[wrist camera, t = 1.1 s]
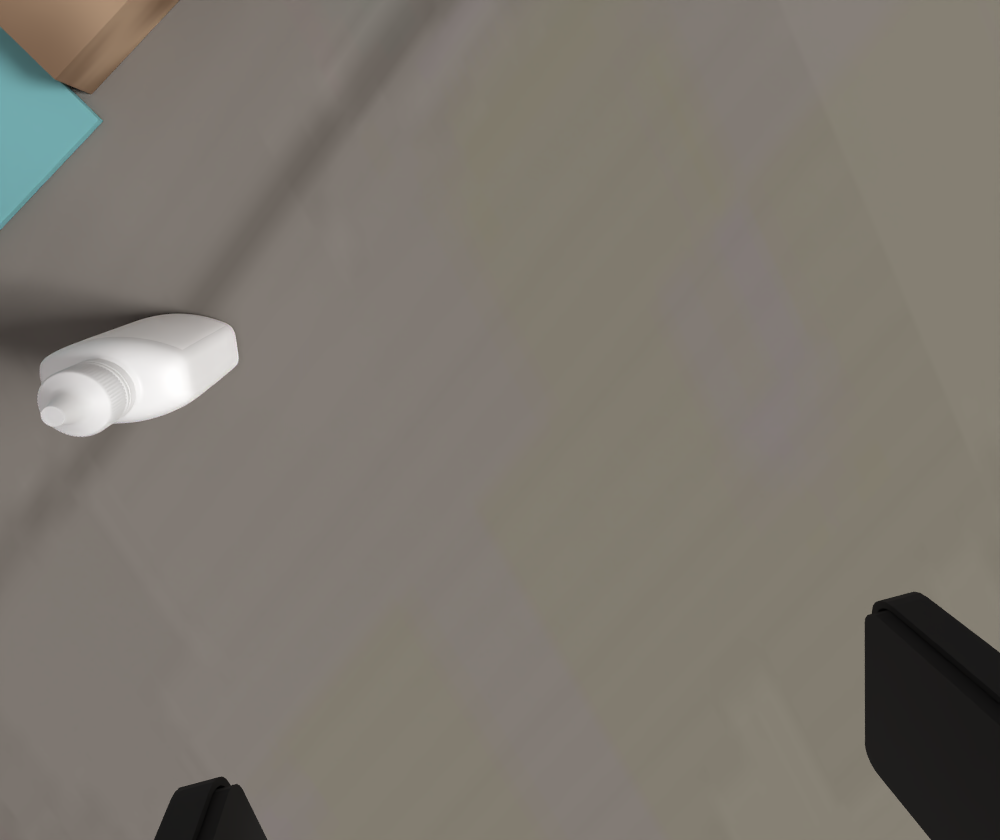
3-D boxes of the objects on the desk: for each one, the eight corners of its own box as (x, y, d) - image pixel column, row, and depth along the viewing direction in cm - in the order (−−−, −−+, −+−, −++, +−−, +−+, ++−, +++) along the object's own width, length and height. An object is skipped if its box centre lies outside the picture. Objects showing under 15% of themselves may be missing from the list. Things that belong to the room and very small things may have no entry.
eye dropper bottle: (140, 281, 30) (-23, 316, 19) (252, 333, 32) (163, 394, 20) (110, 360, 31) (-62, 439, 20) (221, 406, 33) (119, 505, 21)
